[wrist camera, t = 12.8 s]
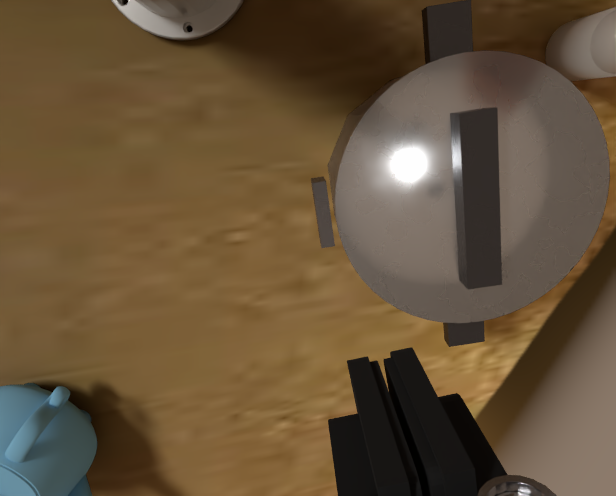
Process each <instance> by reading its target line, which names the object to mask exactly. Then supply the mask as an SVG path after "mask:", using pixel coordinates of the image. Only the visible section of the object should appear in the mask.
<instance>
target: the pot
mask: <svg viewBox="0 0 616 496" xmlns="http://www.w3.org/2000/svg"><path fill="white" fill-rule="evenodd" d="M422 20H423V34H424V49H425V63H426V64H428V63H430V62H433V61H436V60H438V59H441V58H444V57H447V56H451V55H456V54H460V53H464V52H473V41H472V16H471V0H466V1H459V2H453V3H447V4H440V5H434V6H428V7H426V8H424V9H423V10H422ZM402 77H403V76H402ZM402 77H399V78H396V79H393V80H390V81H389V82H388V83H387V84H385V85H384V86H383V87H382V88H380V89H379V90H378V91H377V92H376V93H374V94H373V95H372V96H371V97H369V98H368V99H367V100H366V101H364V102H363V103H362V104H361V105H360V106H358V107H357V108H356V109H355V110H353V111H352V112H351V113H350V114H349V115H348V116H347V118H346V121H345V123H344V126H343V128H342V131H341V133H340V136H339V138H338V141H337V143H336V146H335V148H334V151H333V153H332V156H331V158H330V161H329V163H328V171H329V178H330V186H331V193H332V200H333V208H334V215H335V204H334V194H335V181H336V175H337V170H338V165H339V162H340V159H341V156H342V153H343V150H344V147H345V145H346V143H347V141H348V139H349V136H350V134H351V132H352V130H353V129H354V127H355V126H356V124H357V122H358V121H359V119H360V118H361V116H362V115H363V113H364V112H365V111H366V110H367V109H368V107H369V106H370V105H371V104H372V103H373V101H374V100H375V99H376V98H377V97H378V96H379V95H380V94H382V93H383V92H384V91H385V90H386V89H387V88H388V87H389V86H390V85H392V84H393V83H395V82H396V81H397V80H399V79H400V78H402ZM311 183H312V190H313V197H314V204H315V210H316V217H317V224H318V231H319V237H320V243H321V247H322V248H325V247H332V246H335V244H334V237H333V230H332V223H331V216H330V208H329V201H328V194H327V187H326V181H325V179H324V177H317V178H311ZM443 325H444V339H445V341H446V343H447V344H448V346H449V347H451V346H457V345H464V344H471V343H477V342H484V341H485V340H484V321H479V322H469V323H444V322H443Z"/></svg>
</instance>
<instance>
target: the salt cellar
mask: <svg viewBox="0 0 616 496" xmlns="http://www.w3.org/2000/svg"><path fill="white" fill-rule="evenodd" d="M545 59H546V64H547V66H549V67H551V68H553V69H554V70H556V71H558V72H559V73H560V74H562V75H563V76H564V77H565V78H567V79H568V80H569V81H577V80H587V79H596V78H605V77H614V76H616V7H614V8H611V9H608V10H605V11H602V12H599V13H595V14H592V15H589V16H586V17H583V18H580V19H577V20H574V21H571V22H568V23H566V24H564V25H562V26H561V27H559V28H558V29H557V30H556V31H555V32H554V33H553V35H552V36H551V38H550V39H549V42H548V44H547V47H546V53H545Z"/></svg>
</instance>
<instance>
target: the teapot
mask: <svg viewBox="0 0 616 496" xmlns="http://www.w3.org/2000/svg"><path fill="white" fill-rule="evenodd" d="M69 396H70V391H69V390H68V389H67V388H66V387H63V386H58V387H56V389H55V390H54V391H53V392H50V391H48V390H45V389H41V387H39V386H38V385H37V384H34V383H27V384H24V385H6V386H0V496H92V493H91V490H90V486H89V483H88V480H87V477H86V473H87V471H88V470H89V468H90V466H91V464H92V462H93V460H94V457H95V455H96V450H97V438H96V434H95V431H94V428H93V426H92V424H91V416H90V415H89V413H87V412H86V411H84V410H80V409H78V408H77V407H76V406H75V405H74V404H72V403H71V402H69V401H68V398H69Z"/></svg>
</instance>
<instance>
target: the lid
mask: <svg viewBox="0 0 616 496" xmlns="http://www.w3.org/2000/svg"><path fill="white" fill-rule="evenodd" d="M609 179H610V172H609V156H608V149H607V143H606V140H605V136H604V133H603V130H602V127H601V124H600V122H599V120H598V118H597V116H596V114H595V112H594V110H593V108H592V107H591V105H590V104H589V102H588V101H587V100H586V98H585V97H584V95H583V94H582V93H581V92H580V91H579V90H578V89H577V88H576V87H575V86H574V84H573V83H572V82H571V81H569V80H568V79H567V78H565V77H564V76H563V75H562V74H560V73H559V72H558V71H556V70H554V69H553V68H551V67H549V66H547V65H545V64H544V63H542V62H540V61H537V60H534V59H532V58H529V57H526V56H523V55H519V54H514V53H509V52H503V51H474V52H464V53H460V54H456V55H451V56H447V57H444V58H441V59H438V60H436V61H433V62H430V63H428V64H425V65H423V66H421V67H419V68H417V69H415V70H413V71H411V72H410V73H408V74H406V75H404V76H403V77H402V78H400V79H399V80H397V81H396V82H395V83H393V84H392V85H390V86H389V87H388V88H387V89H386V90H385V91H384V92H383V93H382V94H380V95H379V96H378V97H377V98H376V99H375V100H374V101H373V103H372V104H371V105H370V106H369V107H368V109H367V110H366V111H365V112H364V113H363V115H362V116H361V118H360V119H359V121H358V122H357V124H356V126H355V127H354V129H353V130H352V132H351V134H350V136H349V139H348V141H347V143H346V145H345V147H344V150H343V153H342V156H341V159H340V162H339V165H338V170H337V175H336V181H335V194H334V204H335V217H336V222H337V227H338V232H339V235H340V238H341V241H342V244H343V246H344V249H345V252H346V254H347V256H348V258H349V260H350V262H351V264H352V265H353V267H354V269H355V270H356V271H357V273H358V274H359V276H360V277H361V278H362V280H363V281H364V282H365V283H366V284H367V285H368V286H369V287H370V288H371V289H372V290H373V291H374V292H375V293H376V294H377V295H379V296H380V297H381V298H382V299H384V300H385V301H386V302H388V303H390V304H391V305H393V306H394V307H396V308H398V309H400V310H402V311H404V312H406V313H409V314H411V315H413V316H417V317H420V318H423V319H427V320H432V321H438V322H444V323H469V322H479V321H484V320H489V319H494V318H497V317H500V316H503V315H506V314H509V313H512V312H514V311H516V310H518V309H520V308H523V307H525V306H527V305H528V304H530V303H532V302H533V301H535V300H537V299H538V298H540V297H542V296H543V295H544V294H546V293H547V292H548V291H550V290H551V289H552V288H553V287H555V286H556V285H557V284H558V283H559V282H560V281H561V280H562V279H563V278H564V277H565V276H566V275H567V274H568V273H569V272H570V271H571V270H572V269H573V267H574V266H575V265H576V264H577V263H578V262H579V260H580V259H581V257H582V256H583V254H584V253H585V251H586V250H587V248H588V247H589V245H590V243H591V241H592V239H593V237H594V235H595V233H596V231H597V229H598V227H599V224H600V221H601V219H602V216H603V213H604V209H605V205H606V201H607V197H608V188H609Z"/></svg>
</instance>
